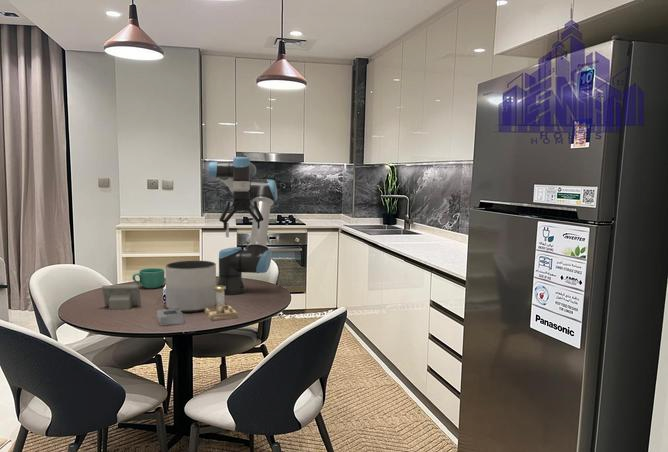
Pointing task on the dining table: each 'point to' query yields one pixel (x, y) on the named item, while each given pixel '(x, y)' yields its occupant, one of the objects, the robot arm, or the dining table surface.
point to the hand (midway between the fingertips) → (241, 236)
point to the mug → (150, 277)
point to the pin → (220, 299)
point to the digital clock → (121, 296)
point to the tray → (213, 316)
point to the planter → (190, 285)
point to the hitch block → (170, 316)
